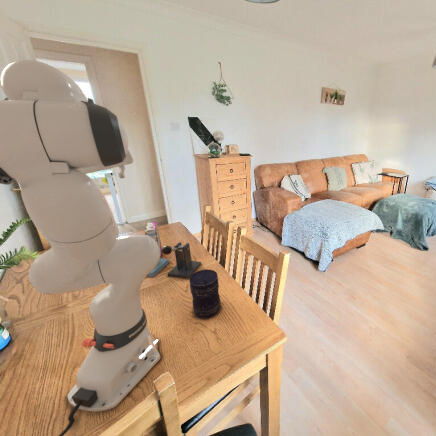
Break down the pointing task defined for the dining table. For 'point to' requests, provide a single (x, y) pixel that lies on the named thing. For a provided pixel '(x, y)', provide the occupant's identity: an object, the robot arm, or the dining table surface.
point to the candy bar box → (153, 233)
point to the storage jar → (205, 293)
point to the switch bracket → (184, 263)
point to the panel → (158, 267)
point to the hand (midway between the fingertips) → (107, 181)
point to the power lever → (171, 249)
